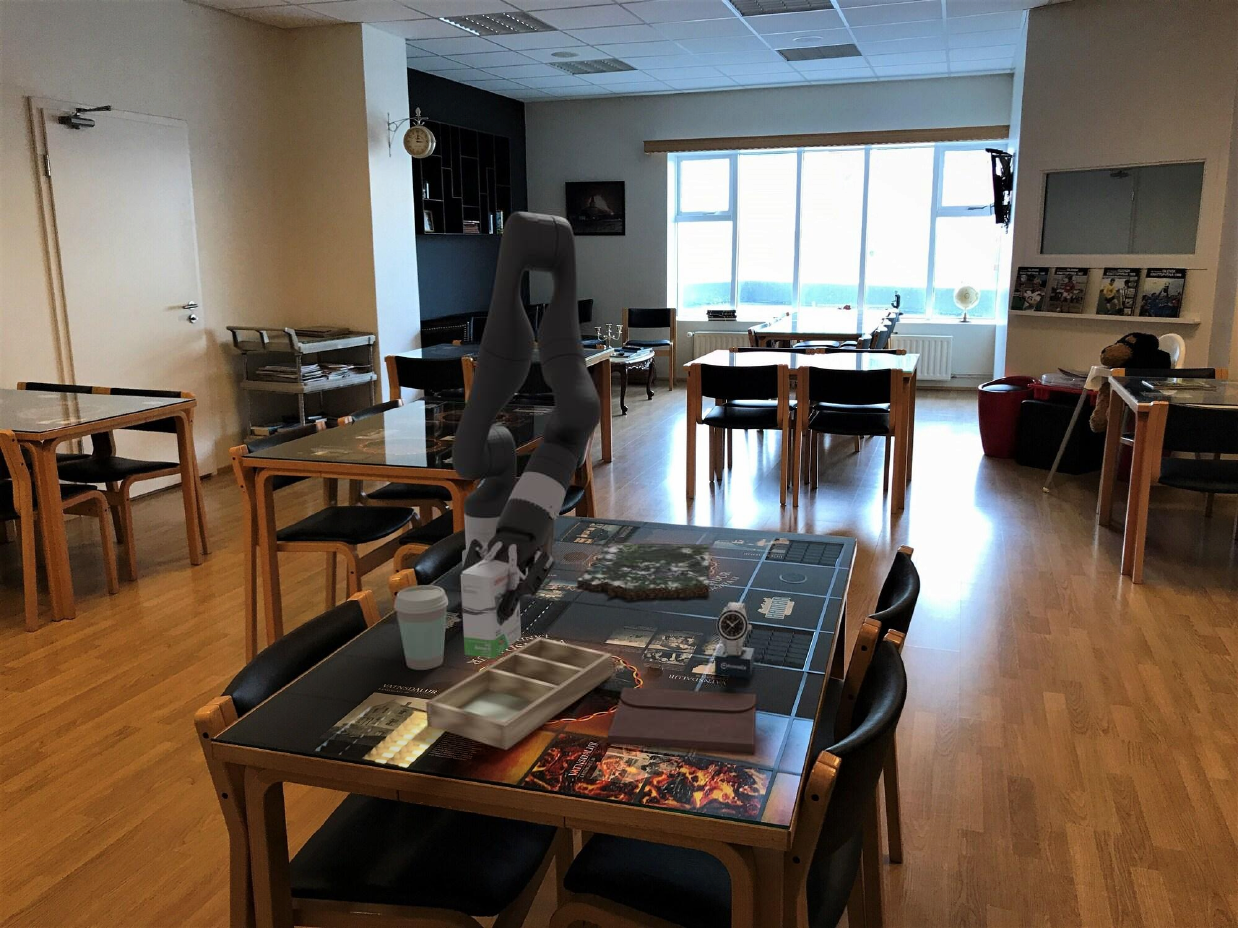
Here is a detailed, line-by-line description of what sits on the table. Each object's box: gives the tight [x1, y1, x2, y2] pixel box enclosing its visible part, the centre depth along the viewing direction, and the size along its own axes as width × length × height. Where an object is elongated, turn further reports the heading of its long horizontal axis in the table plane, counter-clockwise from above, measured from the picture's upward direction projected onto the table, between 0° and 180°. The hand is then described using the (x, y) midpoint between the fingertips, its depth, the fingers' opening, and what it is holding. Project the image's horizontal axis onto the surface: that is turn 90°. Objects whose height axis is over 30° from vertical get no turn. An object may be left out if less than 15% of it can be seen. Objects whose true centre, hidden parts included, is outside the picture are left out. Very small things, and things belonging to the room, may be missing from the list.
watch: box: [714, 601, 755, 679], centre depth 153 cm, size 6×8×11 cm
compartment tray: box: [425, 636, 613, 751], centre depth 145 cm, size 14×27×4 cm, turn 149°
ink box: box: [460, 560, 522, 659], centre depth 137 cm, size 9×5×12 cm, turn 159°
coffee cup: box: [393, 584, 449, 671], centre depth 158 cm, size 9×9×12 cm
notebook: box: [606, 687, 757, 754], centre depth 138 cm, size 15×20×2 cm
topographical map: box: [577, 542, 710, 601], centre depth 202 cm, size 26×33×3 cm
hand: (484, 613), depth 135 cm, fingers closed on ink box, 5 cm apart
